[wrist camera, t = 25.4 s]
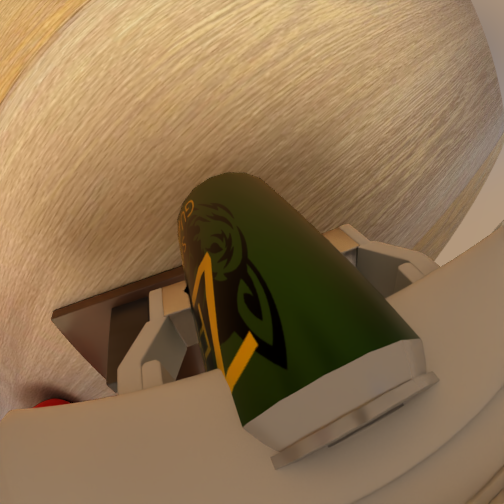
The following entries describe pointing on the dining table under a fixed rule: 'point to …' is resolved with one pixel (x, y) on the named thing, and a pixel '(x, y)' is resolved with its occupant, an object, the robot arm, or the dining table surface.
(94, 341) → the holder base
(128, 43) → the dining table surface
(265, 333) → the beer can
